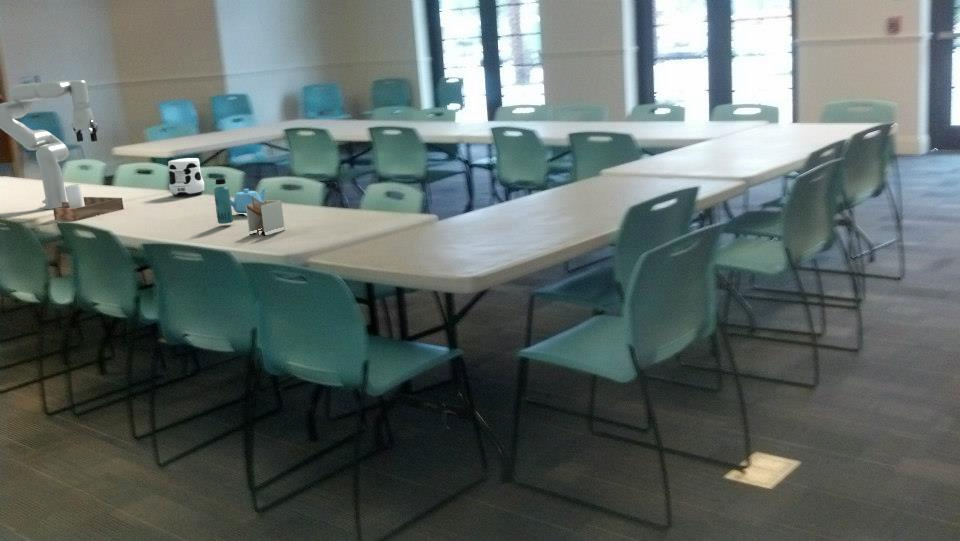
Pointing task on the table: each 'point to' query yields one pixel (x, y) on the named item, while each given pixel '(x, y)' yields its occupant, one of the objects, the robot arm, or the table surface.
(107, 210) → the angular wooden frame
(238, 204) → the teapot
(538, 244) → the table surface
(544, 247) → the table surface
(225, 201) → the beverage bottle
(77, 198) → the white cup
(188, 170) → the milk container
